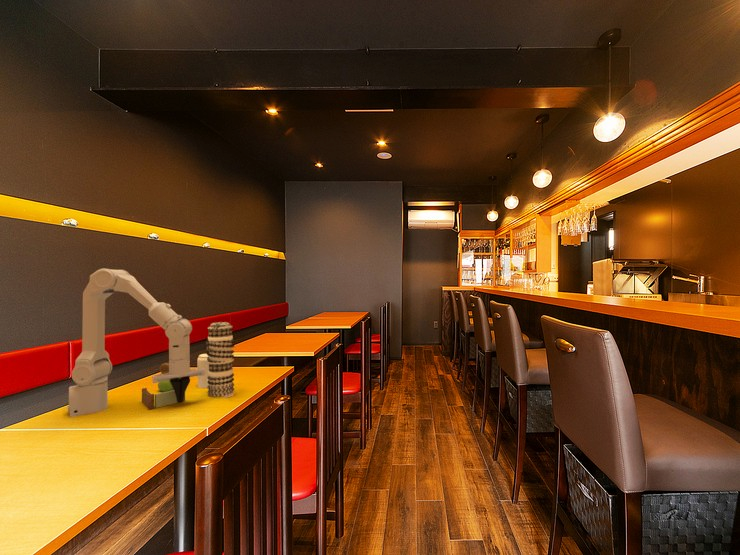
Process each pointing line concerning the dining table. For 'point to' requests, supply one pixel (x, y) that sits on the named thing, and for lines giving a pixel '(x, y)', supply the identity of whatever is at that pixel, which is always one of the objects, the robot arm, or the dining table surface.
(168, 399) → the fence gate
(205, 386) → the beverage can
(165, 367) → the snail figurine
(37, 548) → the dining table surface
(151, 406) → the base
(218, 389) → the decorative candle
